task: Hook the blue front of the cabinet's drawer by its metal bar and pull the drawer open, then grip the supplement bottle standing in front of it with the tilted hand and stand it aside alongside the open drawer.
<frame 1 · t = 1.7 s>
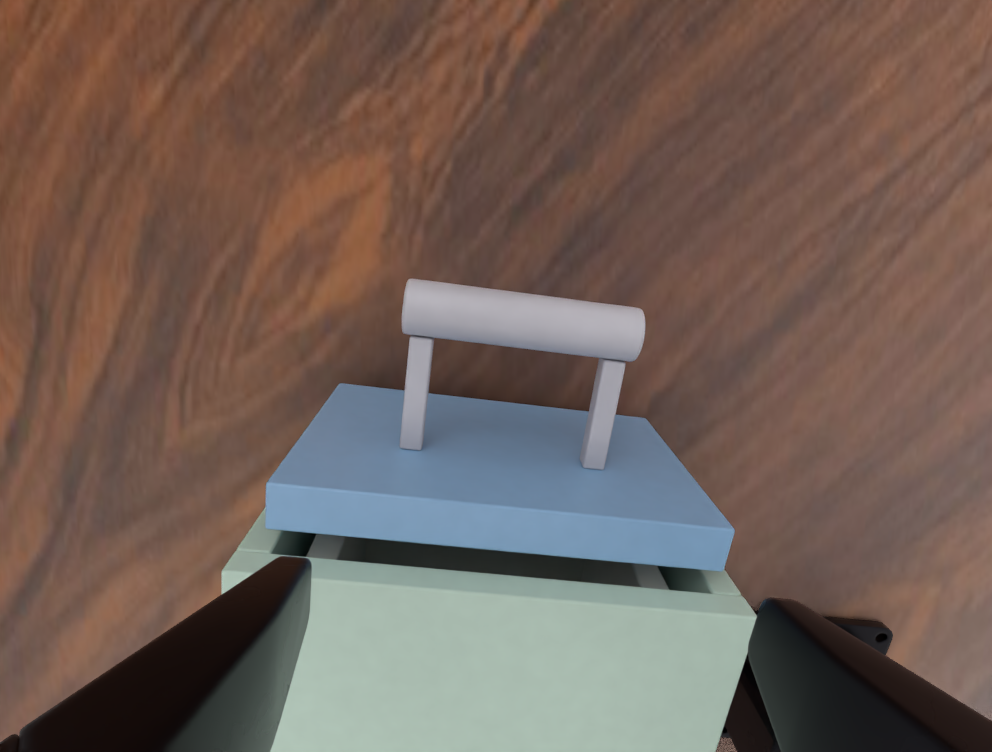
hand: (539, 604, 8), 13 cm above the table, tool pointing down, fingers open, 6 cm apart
cabinet: (467, 587, 23), on the table
drawer: (483, 560, 18), point 5 cm above the table, slide at 0.5 cm
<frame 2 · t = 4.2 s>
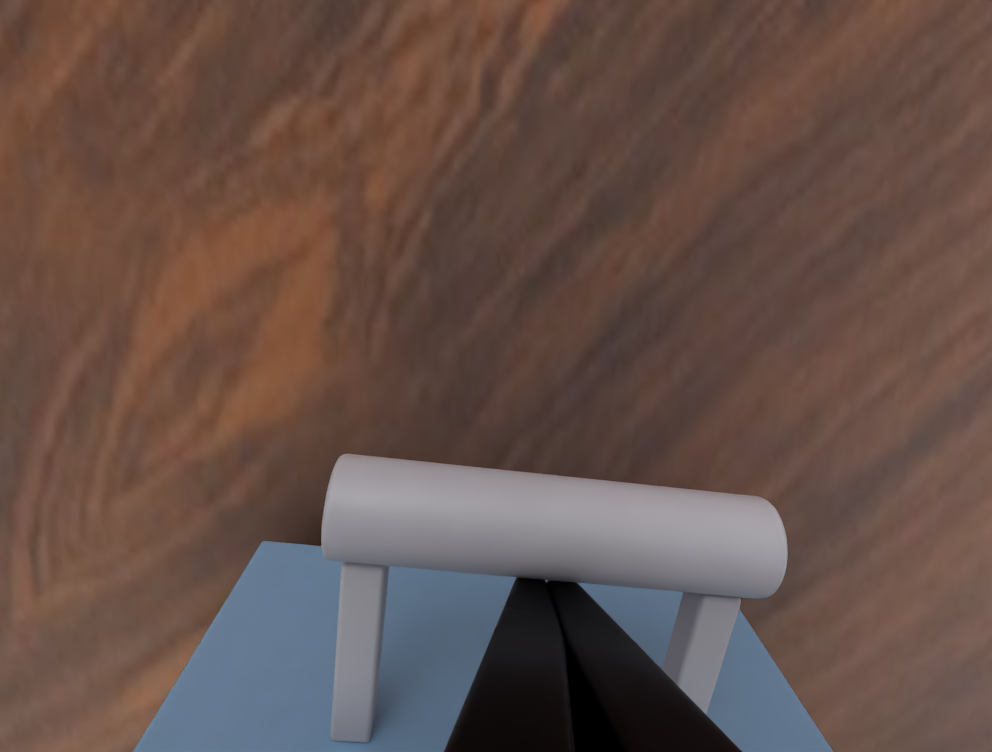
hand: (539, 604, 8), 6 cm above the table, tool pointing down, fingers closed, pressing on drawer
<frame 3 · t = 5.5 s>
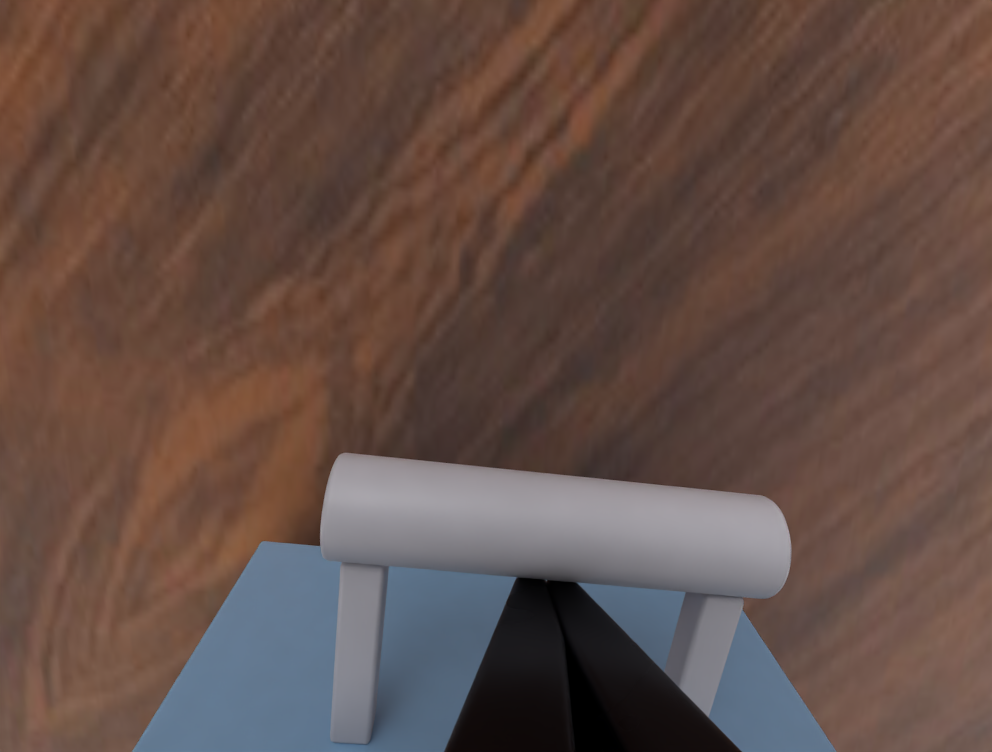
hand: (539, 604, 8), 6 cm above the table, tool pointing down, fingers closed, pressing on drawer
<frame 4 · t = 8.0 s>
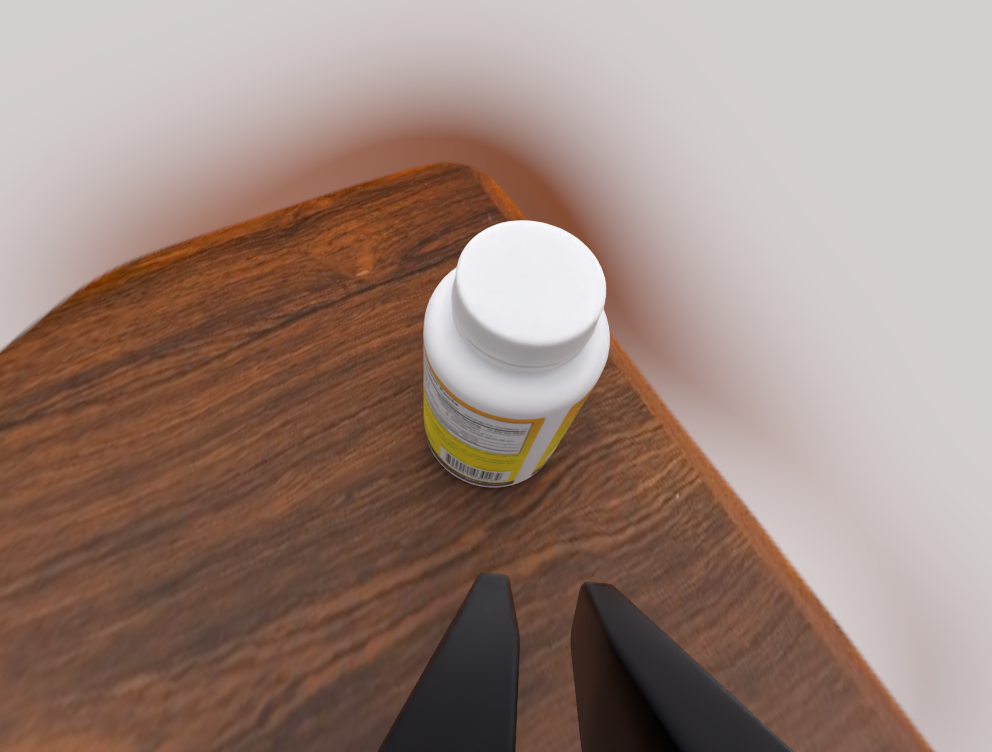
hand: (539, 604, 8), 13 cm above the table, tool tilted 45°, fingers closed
supplement bottle: (489, 428, 24), on the table
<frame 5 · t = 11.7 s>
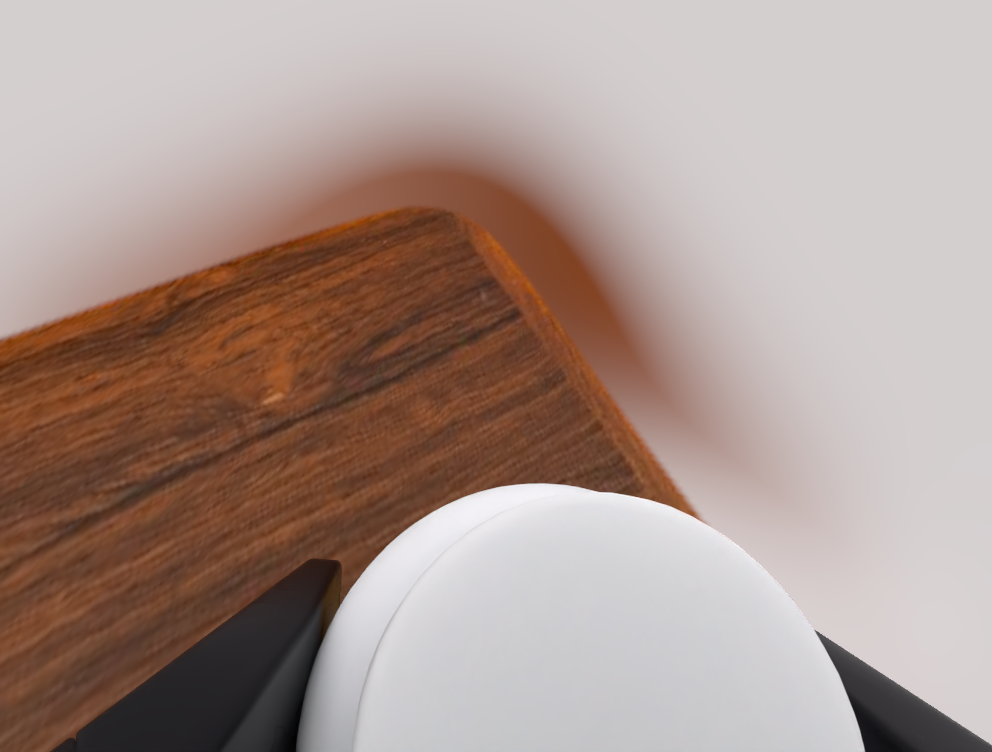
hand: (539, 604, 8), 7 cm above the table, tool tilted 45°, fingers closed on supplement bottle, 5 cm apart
supplement bottle: (481, 698, 13), on the table, touching gripper
when the fingers open (7 cm above the table, at t = 18.6 s): supplement bottle stays where it is, on the table.
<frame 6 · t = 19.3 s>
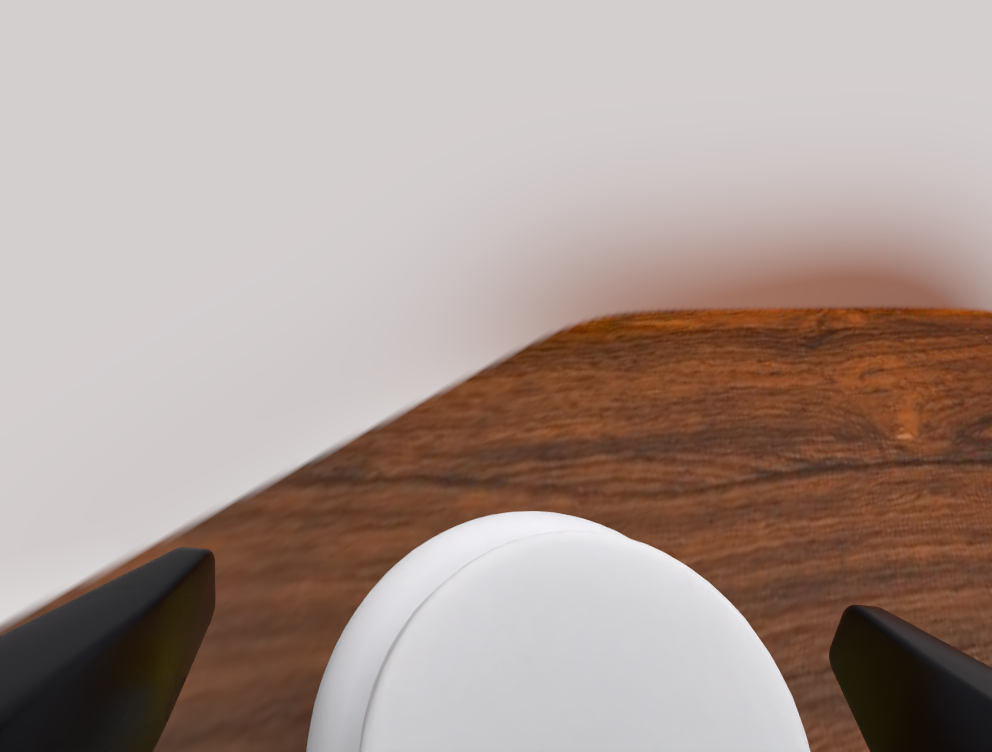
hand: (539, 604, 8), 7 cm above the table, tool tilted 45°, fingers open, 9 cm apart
supplement bottle: (479, 705, 14), on the table
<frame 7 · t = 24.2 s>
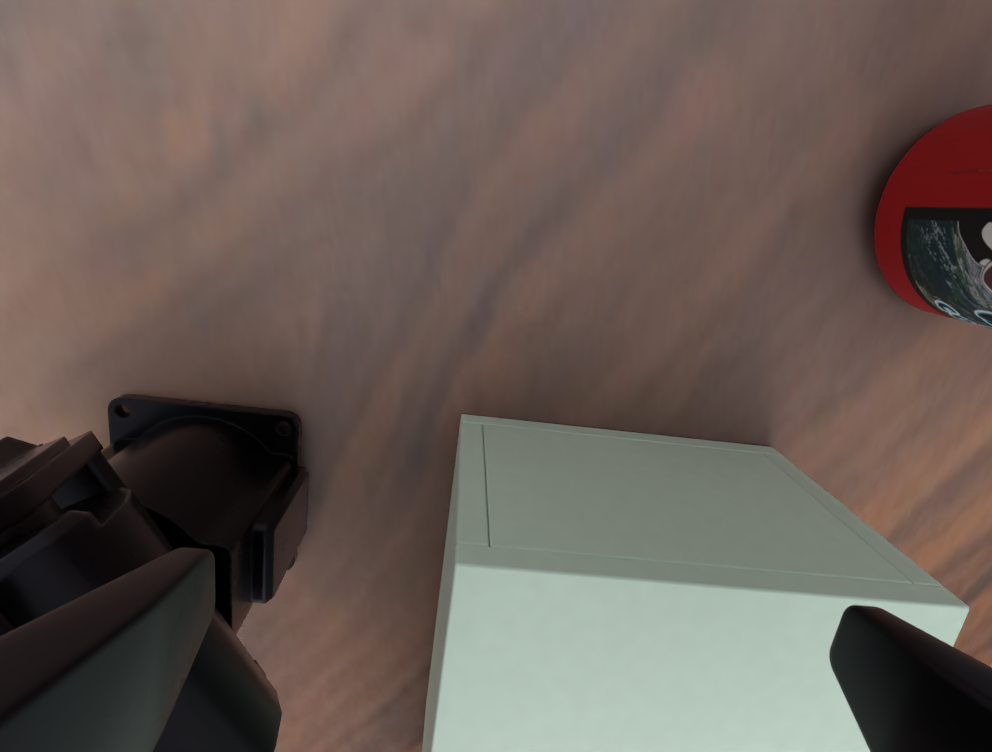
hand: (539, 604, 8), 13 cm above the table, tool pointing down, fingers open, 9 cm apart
cabinet: (588, 581, 23), on the table
beverage can: (949, 214, 20), on the table
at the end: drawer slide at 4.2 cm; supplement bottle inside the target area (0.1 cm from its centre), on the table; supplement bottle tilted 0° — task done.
